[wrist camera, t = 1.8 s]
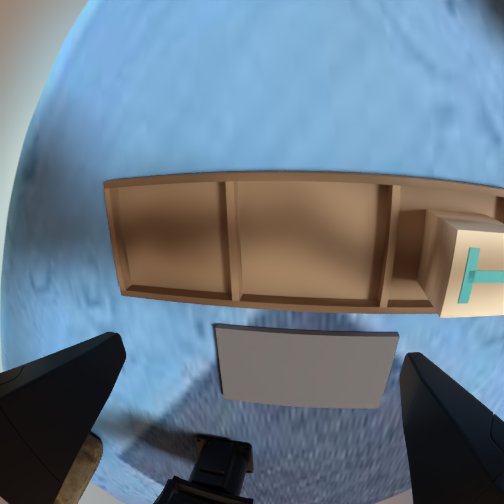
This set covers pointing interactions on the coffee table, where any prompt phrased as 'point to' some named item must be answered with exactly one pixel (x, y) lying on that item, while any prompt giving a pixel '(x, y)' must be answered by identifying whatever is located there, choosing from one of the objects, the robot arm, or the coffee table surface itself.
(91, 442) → the sculpture
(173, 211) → the bay tray
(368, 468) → the coffee table surface
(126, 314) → the coffee table surface
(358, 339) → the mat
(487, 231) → the letter block
